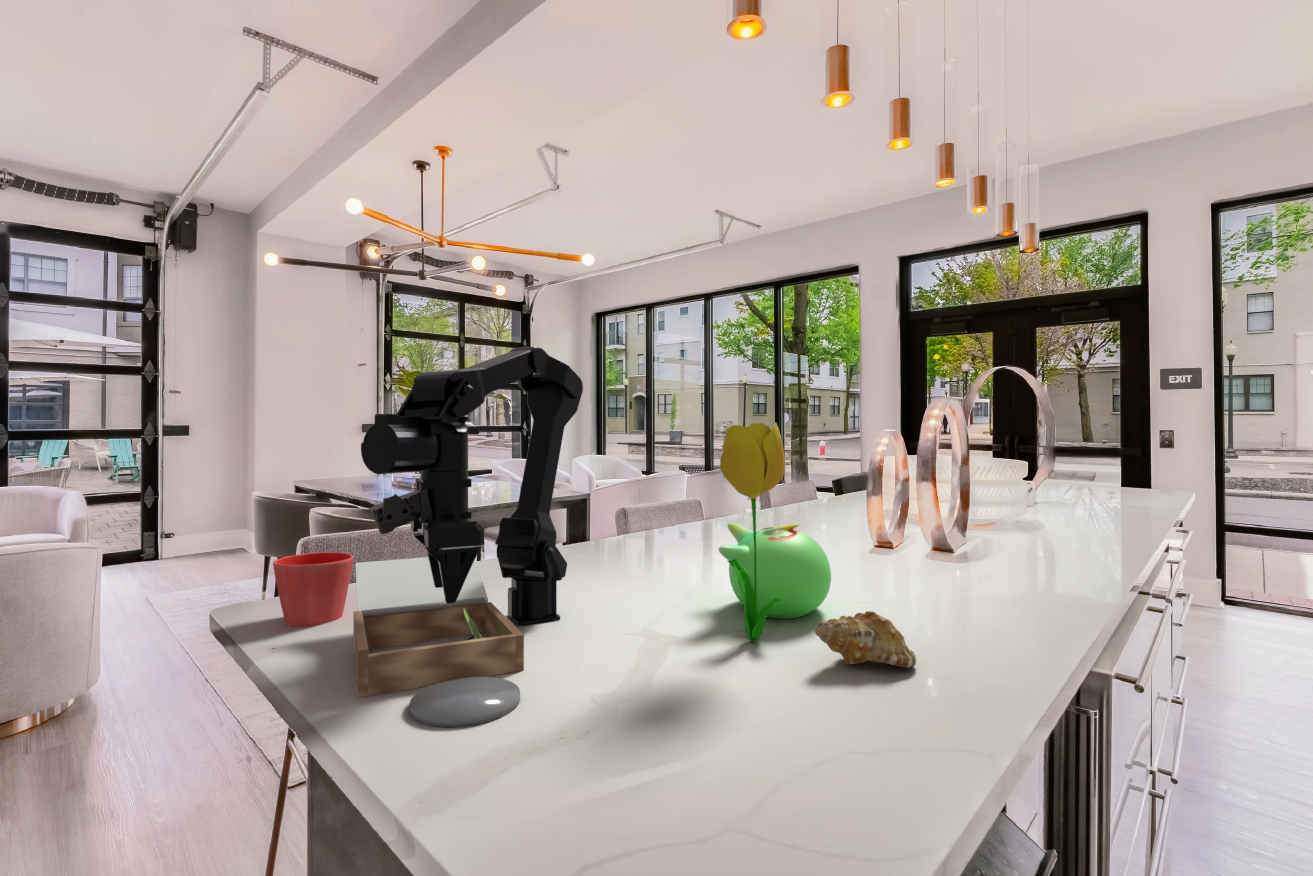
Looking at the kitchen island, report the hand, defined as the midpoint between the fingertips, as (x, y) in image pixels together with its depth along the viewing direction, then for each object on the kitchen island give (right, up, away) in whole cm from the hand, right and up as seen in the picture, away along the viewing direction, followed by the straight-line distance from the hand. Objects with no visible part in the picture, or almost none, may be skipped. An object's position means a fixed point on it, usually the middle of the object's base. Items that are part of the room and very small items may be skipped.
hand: (444, 594), depth 80 cm
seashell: (+54, -9, -3) cm, 55 cm away
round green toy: (+45, -9, +20) cm, 51 cm away
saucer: (+7, -8, -14) cm, 17 cm away
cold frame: (-1, -8, 0) cm, 8 cm away
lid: (-8, -8, +12) cm, 17 cm away
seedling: (-1, -9, -1) cm, 9 cm away
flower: (+40, -8, +6) cm, 41 cm away
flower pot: (-26, -9, +18) cm, 33 cm away
